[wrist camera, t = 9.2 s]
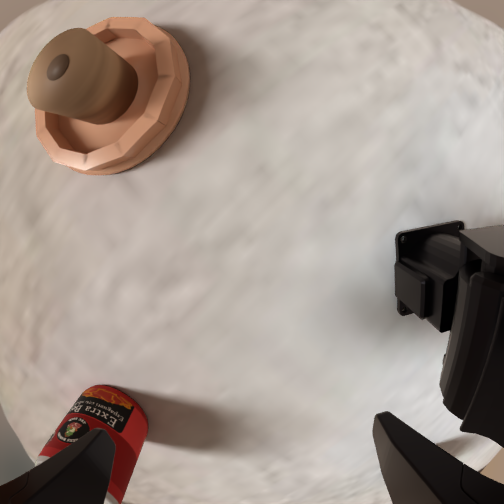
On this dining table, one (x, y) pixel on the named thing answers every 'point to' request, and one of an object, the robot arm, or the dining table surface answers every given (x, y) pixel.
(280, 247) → the dining table surface
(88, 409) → the canned food
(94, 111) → the bead
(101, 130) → the dish
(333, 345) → the dining table surface
